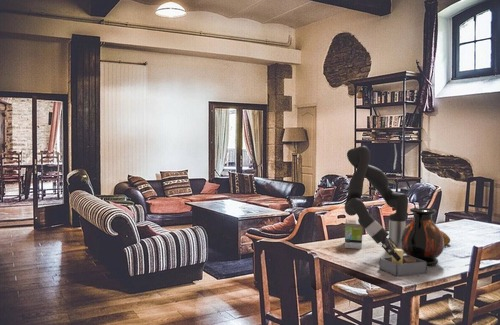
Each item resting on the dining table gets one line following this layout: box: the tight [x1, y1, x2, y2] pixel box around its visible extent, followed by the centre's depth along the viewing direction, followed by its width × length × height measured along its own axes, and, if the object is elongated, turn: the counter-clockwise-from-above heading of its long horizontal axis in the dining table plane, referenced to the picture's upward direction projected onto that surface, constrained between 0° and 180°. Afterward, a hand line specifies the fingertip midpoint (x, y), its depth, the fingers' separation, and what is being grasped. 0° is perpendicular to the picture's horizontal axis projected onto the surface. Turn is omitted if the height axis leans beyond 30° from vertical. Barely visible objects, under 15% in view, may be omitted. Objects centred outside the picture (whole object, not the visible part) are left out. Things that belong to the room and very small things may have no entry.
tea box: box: [344, 219, 364, 250], centre depth 280 cm, size 15×10×15 cm
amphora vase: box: [401, 207, 445, 267], centre depth 244 cm, size 22×22×28 cm
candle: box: [391, 249, 404, 264], centre depth 226 cm, size 5×5×10 cm
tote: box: [378, 254, 428, 277], centre depth 228 cm, size 17×13×6 cm
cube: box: [403, 258, 416, 264], centre depth 229 cm, size 5×5×5 cm
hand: (400, 258), depth 226 cm, fingers open, 6 cm apart
